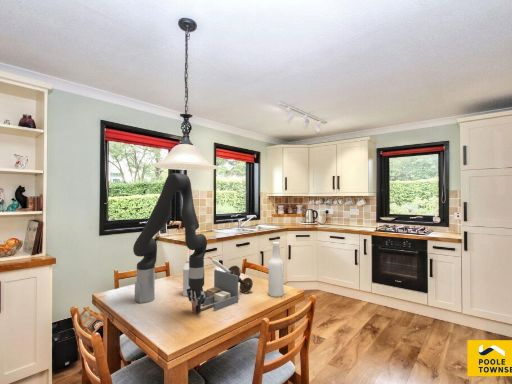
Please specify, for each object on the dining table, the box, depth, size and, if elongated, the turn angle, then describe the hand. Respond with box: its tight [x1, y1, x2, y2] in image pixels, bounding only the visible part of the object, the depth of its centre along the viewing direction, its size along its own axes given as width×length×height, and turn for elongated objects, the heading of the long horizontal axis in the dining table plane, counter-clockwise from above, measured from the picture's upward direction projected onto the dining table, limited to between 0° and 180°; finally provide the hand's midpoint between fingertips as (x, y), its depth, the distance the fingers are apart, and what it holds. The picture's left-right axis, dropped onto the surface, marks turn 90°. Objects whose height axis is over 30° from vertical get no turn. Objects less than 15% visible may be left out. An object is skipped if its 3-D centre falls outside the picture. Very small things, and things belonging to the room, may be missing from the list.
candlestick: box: [207, 256, 254, 294], centre depth 156 cm, size 11×11×35 cm
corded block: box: [192, 291, 230, 315], centre depth 142 cm, size 21×6×6 cm, turn 138°
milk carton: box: [182, 260, 190, 297], centre depth 161 cm, size 7×7×19 cm
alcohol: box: [267, 241, 285, 298], centre depth 161 cm, size 9×9×30 cm
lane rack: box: [198, 269, 239, 312], centre depth 149 cm, size 16×19×14 cm
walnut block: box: [206, 286, 222, 298], centre depth 155 cm, size 6×6×5 cm
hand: (196, 311), depth 135 cm, fingers closed on corded block, 2 cm apart
